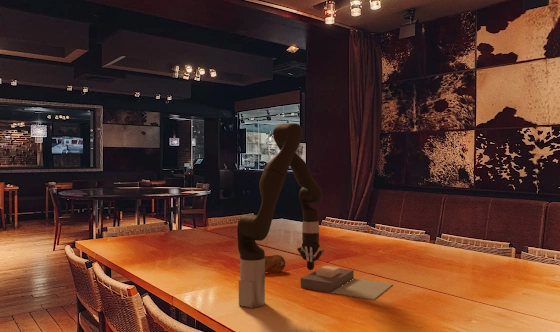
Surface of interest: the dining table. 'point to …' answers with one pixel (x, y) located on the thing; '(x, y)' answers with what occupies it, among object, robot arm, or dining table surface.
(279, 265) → the tin
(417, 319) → the dining table surface
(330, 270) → the tile
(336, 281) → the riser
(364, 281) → the mat
